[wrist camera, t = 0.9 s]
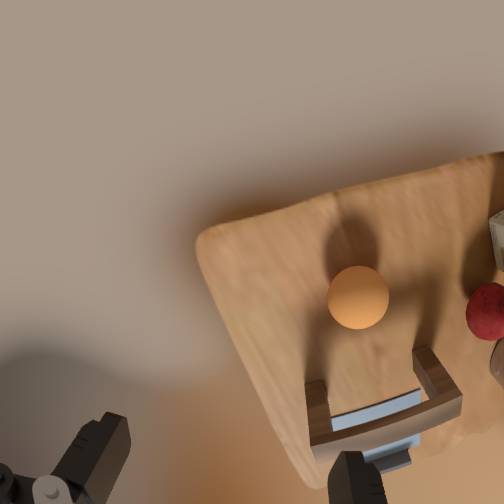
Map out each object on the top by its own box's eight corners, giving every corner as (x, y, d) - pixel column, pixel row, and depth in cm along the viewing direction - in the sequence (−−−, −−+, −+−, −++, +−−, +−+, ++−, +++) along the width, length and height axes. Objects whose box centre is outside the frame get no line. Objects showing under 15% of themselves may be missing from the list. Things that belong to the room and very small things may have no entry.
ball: (382, 258, 28) (403, 279, 23) (373, 311, 30) (390, 340, 24) (326, 256, 29) (336, 277, 23) (320, 311, 30) (328, 341, 25)
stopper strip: (407, 448, 35) (411, 460, 33) (407, 452, 36) (411, 464, 33) (354, 465, 37) (357, 477, 34) (355, 468, 37) (358, 481, 34)
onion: (457, 276, 28) (498, 307, 20) (495, 270, 28) (538, 297, 20) (450, 325, 30) (484, 363, 22) (488, 316, 29) (524, 350, 21)
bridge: (304, 384, 33) (310, 446, 24) (427, 344, 30) (462, 394, 22) (310, 402, 33) (317, 463, 24) (428, 364, 31) (460, 415, 22)
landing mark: (326, 419, 34) (327, 420, 34) (419, 388, 32) (420, 389, 32) (341, 467, 37) (341, 468, 37) (419, 443, 35) (419, 443, 35)
